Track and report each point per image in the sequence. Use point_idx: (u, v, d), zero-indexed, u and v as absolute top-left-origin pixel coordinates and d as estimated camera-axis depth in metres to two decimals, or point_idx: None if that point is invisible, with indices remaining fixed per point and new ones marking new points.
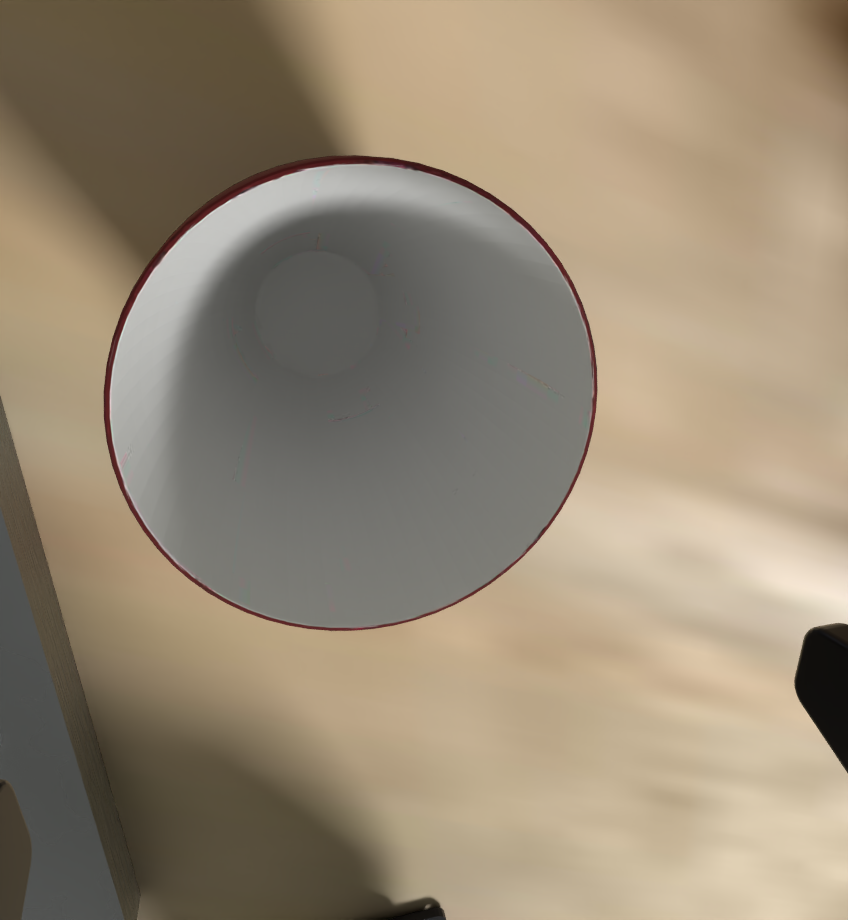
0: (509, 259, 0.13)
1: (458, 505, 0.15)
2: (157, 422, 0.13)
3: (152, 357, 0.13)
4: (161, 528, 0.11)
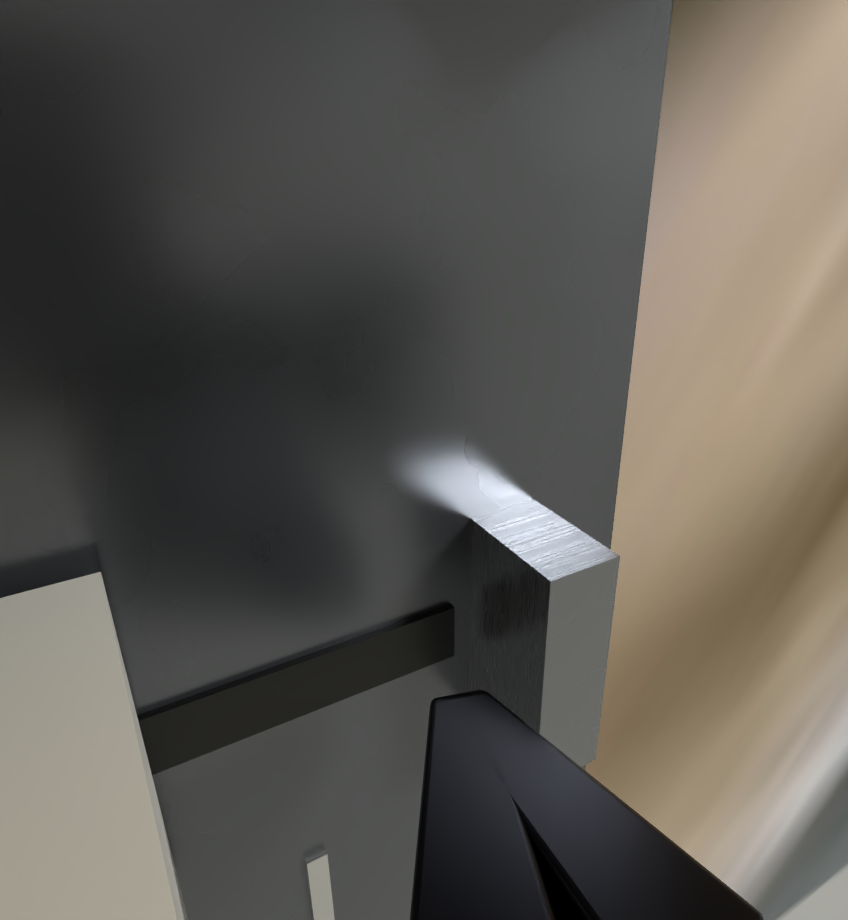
0: None
1: None
2: None
3: None
4: None
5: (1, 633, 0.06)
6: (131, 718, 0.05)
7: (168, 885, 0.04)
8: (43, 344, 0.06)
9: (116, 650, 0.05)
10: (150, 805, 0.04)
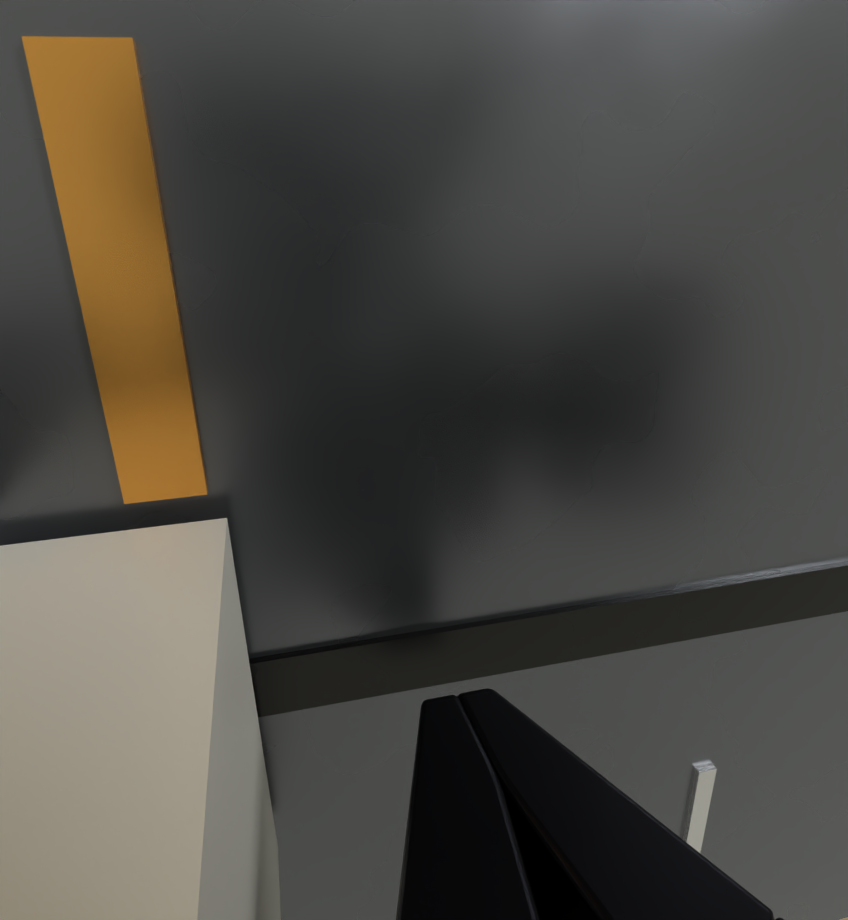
0: None
1: None
2: None
3: None
4: None
5: (135, 556, 0.06)
6: (215, 642, 0.05)
7: (206, 788, 0.04)
8: None
9: (220, 585, 0.06)
10: (210, 717, 0.04)
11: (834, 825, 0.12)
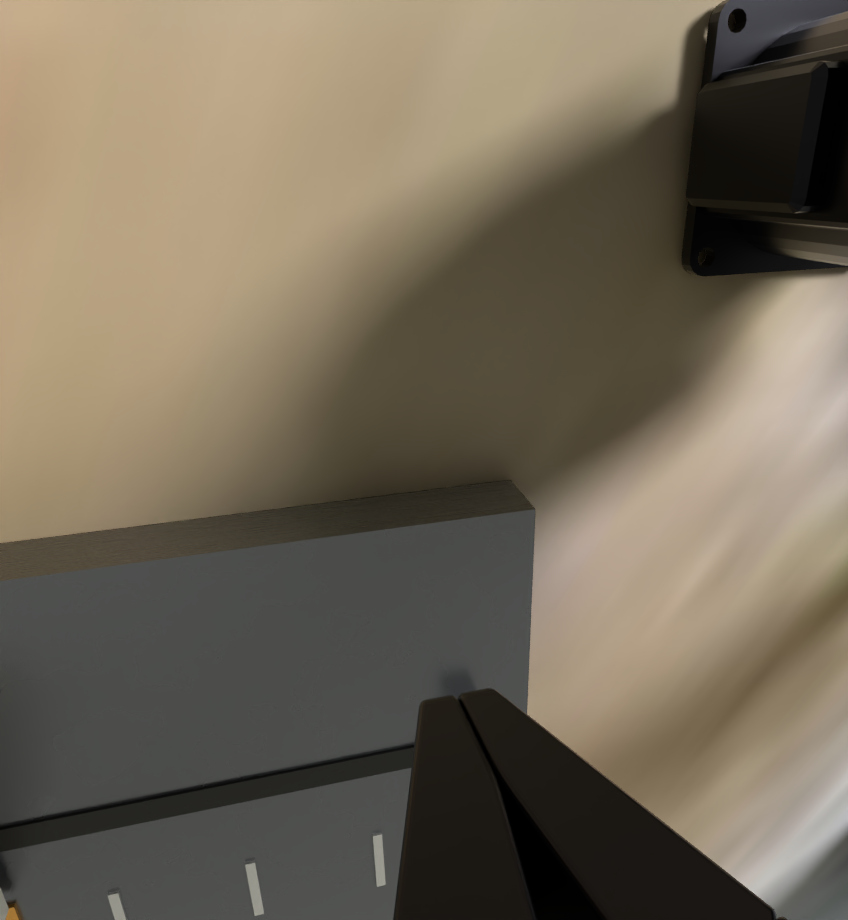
0: None
1: None
2: None
3: None
4: None
5: None
6: None
7: None
8: (300, 654, 0.19)
9: None
10: None
11: (347, 886, 0.23)
